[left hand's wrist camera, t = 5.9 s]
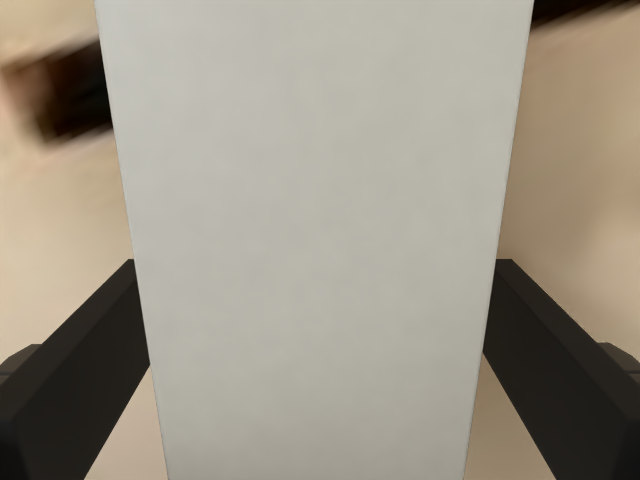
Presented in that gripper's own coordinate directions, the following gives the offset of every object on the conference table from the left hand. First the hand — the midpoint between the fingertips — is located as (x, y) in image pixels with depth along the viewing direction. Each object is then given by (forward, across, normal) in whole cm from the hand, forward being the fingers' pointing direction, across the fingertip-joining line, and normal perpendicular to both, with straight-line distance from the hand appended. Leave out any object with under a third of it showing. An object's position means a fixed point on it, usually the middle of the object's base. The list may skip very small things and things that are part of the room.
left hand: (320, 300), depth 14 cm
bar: (+1, 0, -24) cm, 24 cm away
